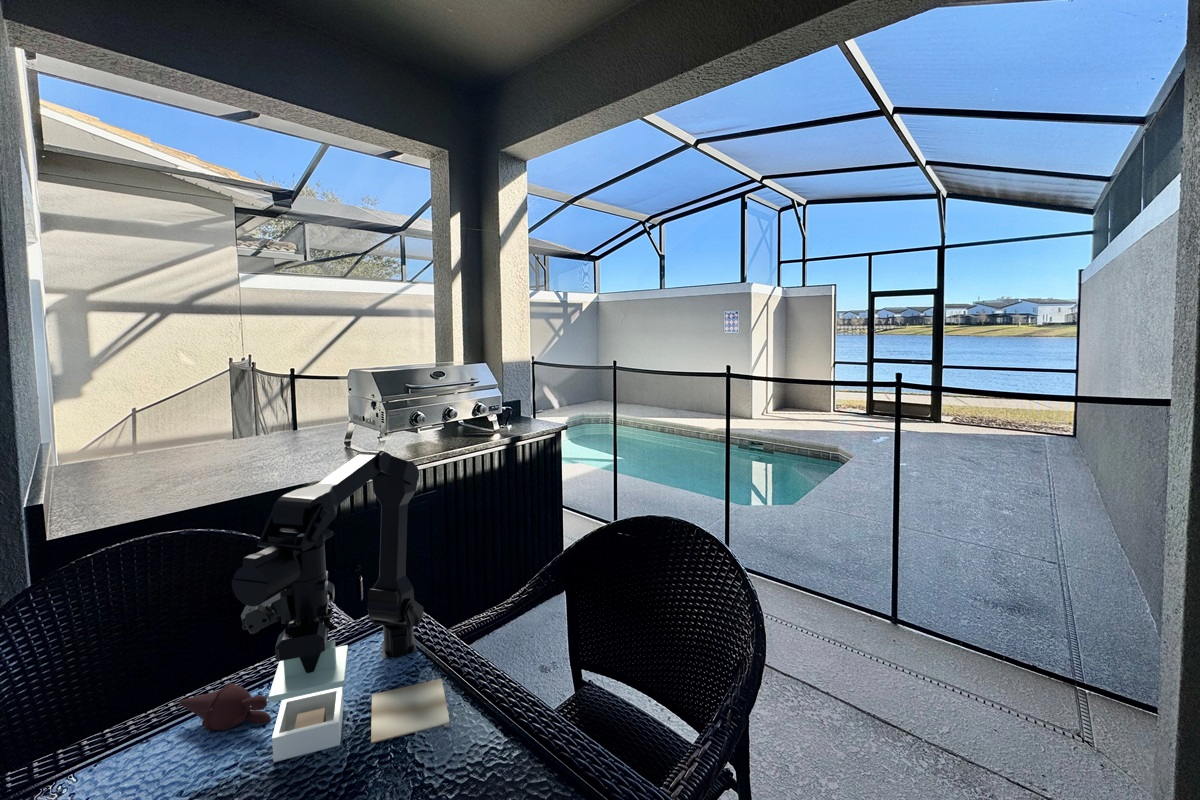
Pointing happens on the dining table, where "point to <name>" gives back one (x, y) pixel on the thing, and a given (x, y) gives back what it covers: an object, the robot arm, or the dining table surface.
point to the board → (408, 710)
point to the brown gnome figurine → (227, 708)
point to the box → (311, 737)
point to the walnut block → (310, 718)
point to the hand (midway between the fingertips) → (311, 666)
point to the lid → (310, 674)
